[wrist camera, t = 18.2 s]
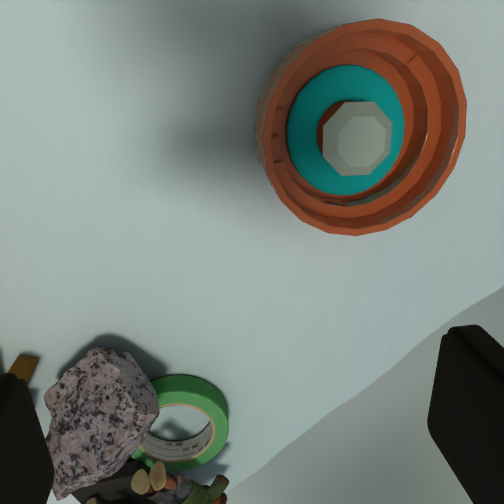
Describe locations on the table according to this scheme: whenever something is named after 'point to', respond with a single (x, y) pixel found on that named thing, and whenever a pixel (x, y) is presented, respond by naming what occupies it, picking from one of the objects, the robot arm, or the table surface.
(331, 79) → the ornament
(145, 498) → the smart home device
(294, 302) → the table surface
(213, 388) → the tape roll
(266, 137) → the bowl
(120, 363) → the stone
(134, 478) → the doll family
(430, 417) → the robot arm
